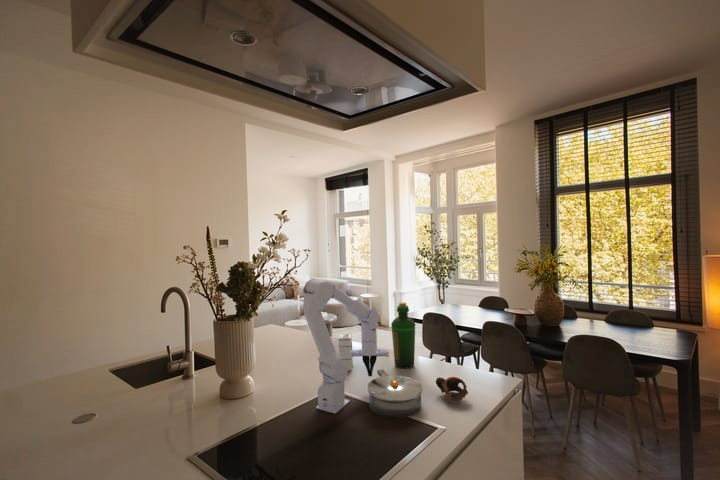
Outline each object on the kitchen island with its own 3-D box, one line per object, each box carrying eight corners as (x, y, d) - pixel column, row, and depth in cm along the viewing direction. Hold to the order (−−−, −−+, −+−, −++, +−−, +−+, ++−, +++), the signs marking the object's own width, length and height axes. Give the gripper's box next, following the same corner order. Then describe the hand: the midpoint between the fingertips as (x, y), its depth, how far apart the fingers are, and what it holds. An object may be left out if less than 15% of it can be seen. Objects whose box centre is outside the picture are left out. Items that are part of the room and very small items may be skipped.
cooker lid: (431, 397, 111) (431, 388, 111) (377, 406, 107) (377, 397, 107) (402, 369, 135) (402, 362, 135) (357, 376, 130) (357, 368, 130)
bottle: (399, 359, 161) (398, 300, 161) (420, 364, 155) (418, 302, 155) (388, 367, 153) (386, 304, 152) (409, 372, 146) (407, 306, 146)
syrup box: (352, 370, 150) (351, 337, 150) (339, 371, 150) (338, 337, 150) (353, 365, 155) (352, 333, 155) (340, 366, 155) (339, 334, 155)
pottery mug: (470, 395, 124) (472, 381, 120) (460, 416, 118) (461, 402, 114) (440, 380, 131) (440, 366, 127) (428, 399, 124) (428, 385, 120)
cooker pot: (412, 422, 106) (412, 406, 106) (361, 412, 114) (360, 397, 114) (430, 390, 128) (430, 377, 128) (386, 383, 135) (385, 371, 135)
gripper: (388, 336, 134) (389, 371, 134) (351, 336, 135) (352, 371, 135) (388, 341, 127) (389, 378, 127) (349, 342, 128) (350, 378, 128)
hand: (370, 375), depth 130 cm, fingers closed
